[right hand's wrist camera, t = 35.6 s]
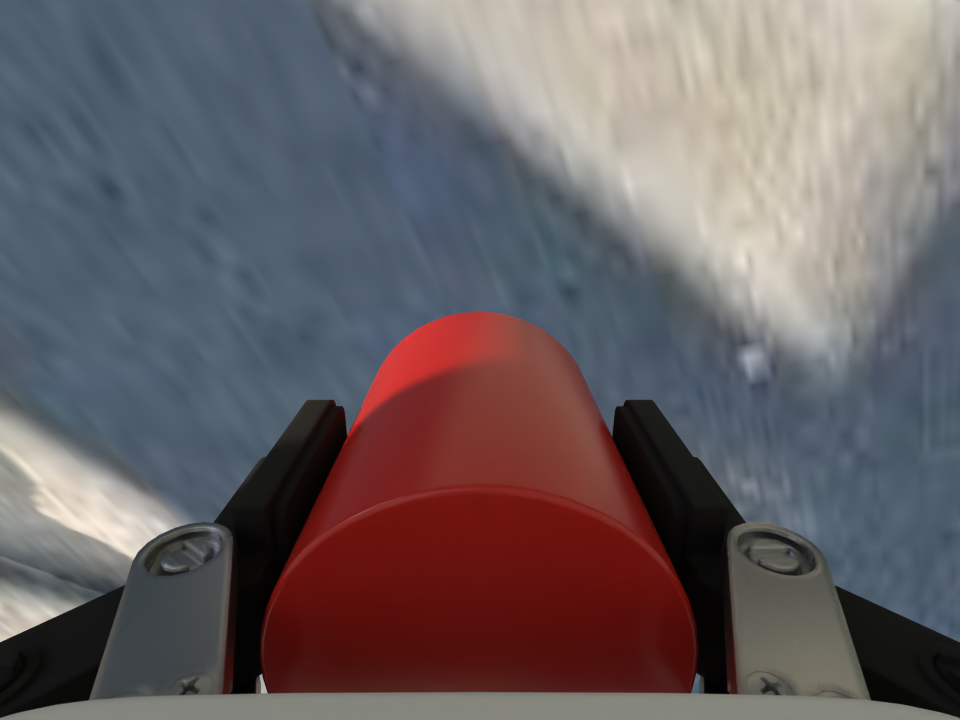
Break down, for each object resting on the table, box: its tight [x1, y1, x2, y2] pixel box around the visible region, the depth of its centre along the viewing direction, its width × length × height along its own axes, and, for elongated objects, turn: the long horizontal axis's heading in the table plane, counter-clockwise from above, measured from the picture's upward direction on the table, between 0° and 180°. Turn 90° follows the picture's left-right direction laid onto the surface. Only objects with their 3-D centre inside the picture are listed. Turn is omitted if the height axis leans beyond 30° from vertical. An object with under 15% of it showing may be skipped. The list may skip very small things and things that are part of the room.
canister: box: [260, 312, 698, 694], centre depth 11 cm, size 6×6×8 cm
